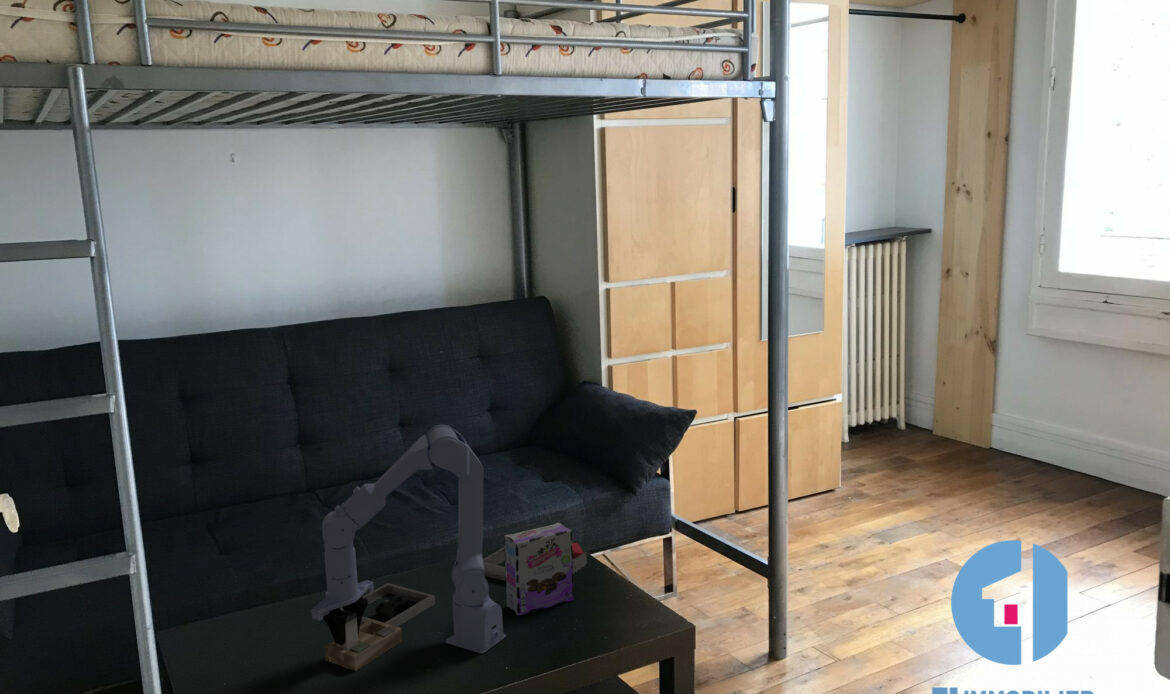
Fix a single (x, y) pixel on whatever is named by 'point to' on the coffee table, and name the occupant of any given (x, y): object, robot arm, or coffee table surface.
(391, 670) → the coffee table surface
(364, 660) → the socket block
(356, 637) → the white upright block
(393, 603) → the gaming controller
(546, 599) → the candy box
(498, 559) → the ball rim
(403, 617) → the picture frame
